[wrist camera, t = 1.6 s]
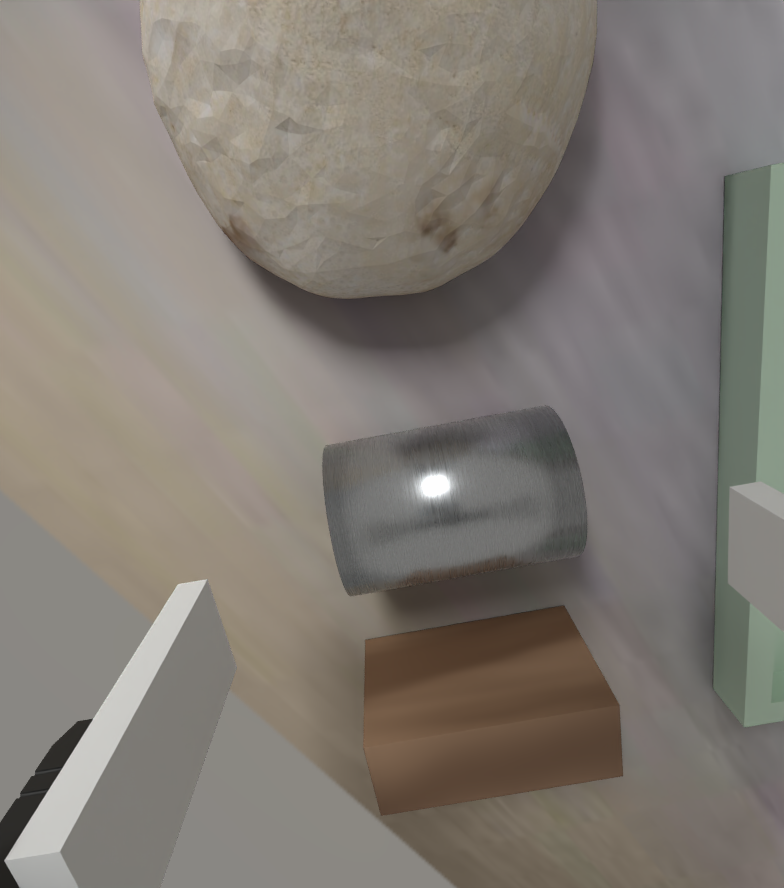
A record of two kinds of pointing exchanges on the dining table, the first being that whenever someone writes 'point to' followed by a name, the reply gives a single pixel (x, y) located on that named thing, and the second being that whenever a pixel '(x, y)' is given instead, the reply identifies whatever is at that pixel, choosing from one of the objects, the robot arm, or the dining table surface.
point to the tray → (750, 429)
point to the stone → (369, 127)
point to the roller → (454, 500)
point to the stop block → (486, 711)
